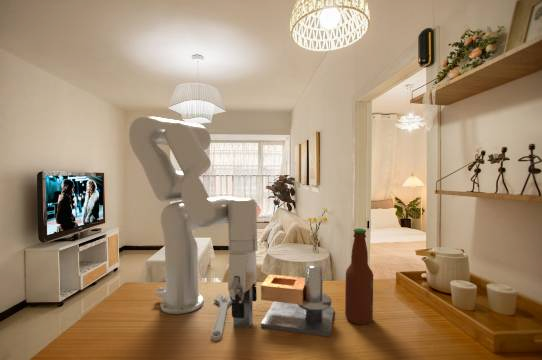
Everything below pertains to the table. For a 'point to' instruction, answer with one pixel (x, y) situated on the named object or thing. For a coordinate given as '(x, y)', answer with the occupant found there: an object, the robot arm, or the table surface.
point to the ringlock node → (298, 303)
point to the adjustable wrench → (220, 316)
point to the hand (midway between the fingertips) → (245, 308)
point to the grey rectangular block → (248, 310)
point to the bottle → (359, 283)
